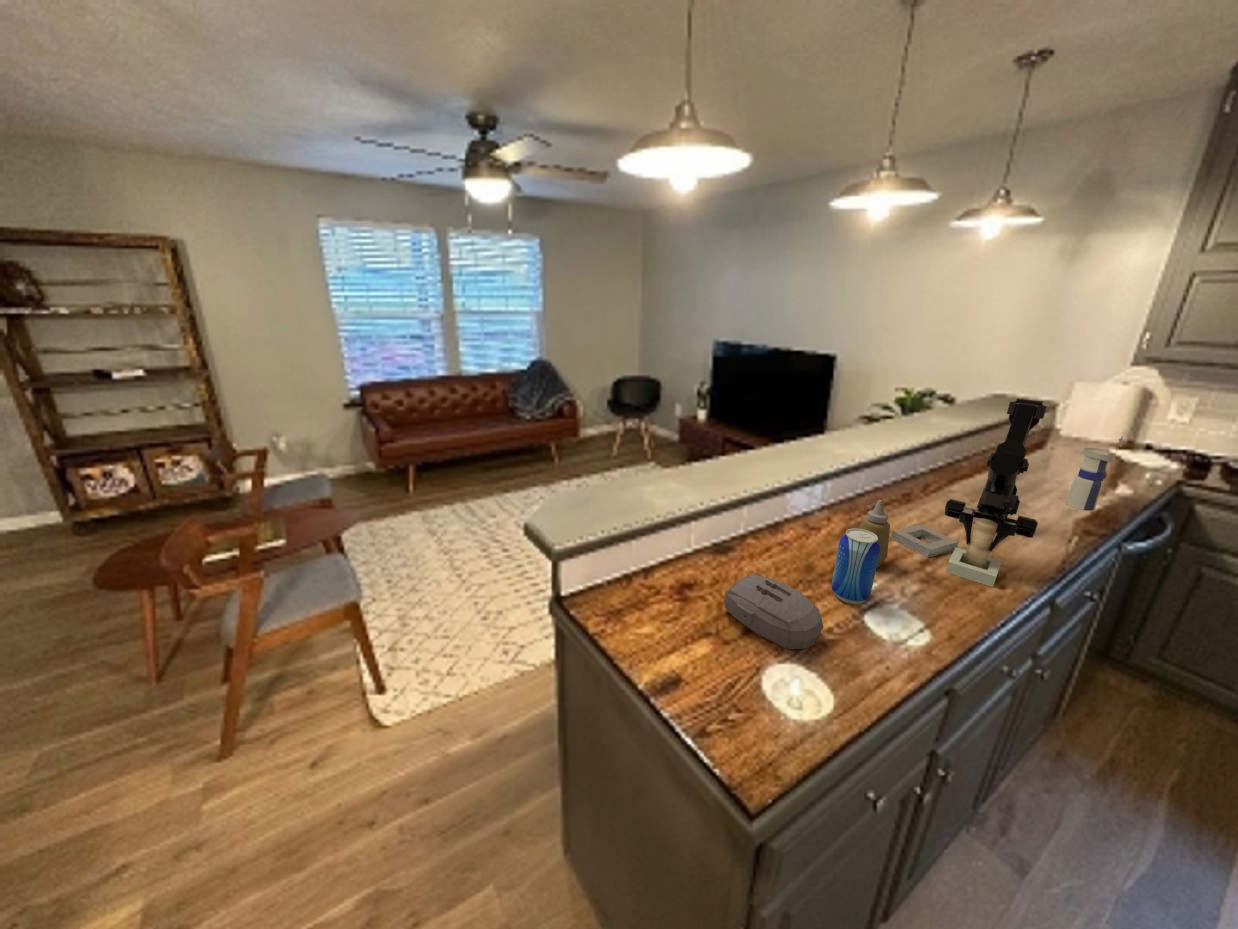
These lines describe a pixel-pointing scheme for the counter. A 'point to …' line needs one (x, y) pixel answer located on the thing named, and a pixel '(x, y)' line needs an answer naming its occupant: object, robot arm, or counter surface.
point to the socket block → (928, 550)
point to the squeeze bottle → (878, 528)
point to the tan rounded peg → (980, 542)
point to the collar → (973, 568)
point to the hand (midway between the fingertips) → (978, 547)
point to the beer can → (855, 566)
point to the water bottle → (1090, 478)
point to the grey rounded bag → (774, 611)
